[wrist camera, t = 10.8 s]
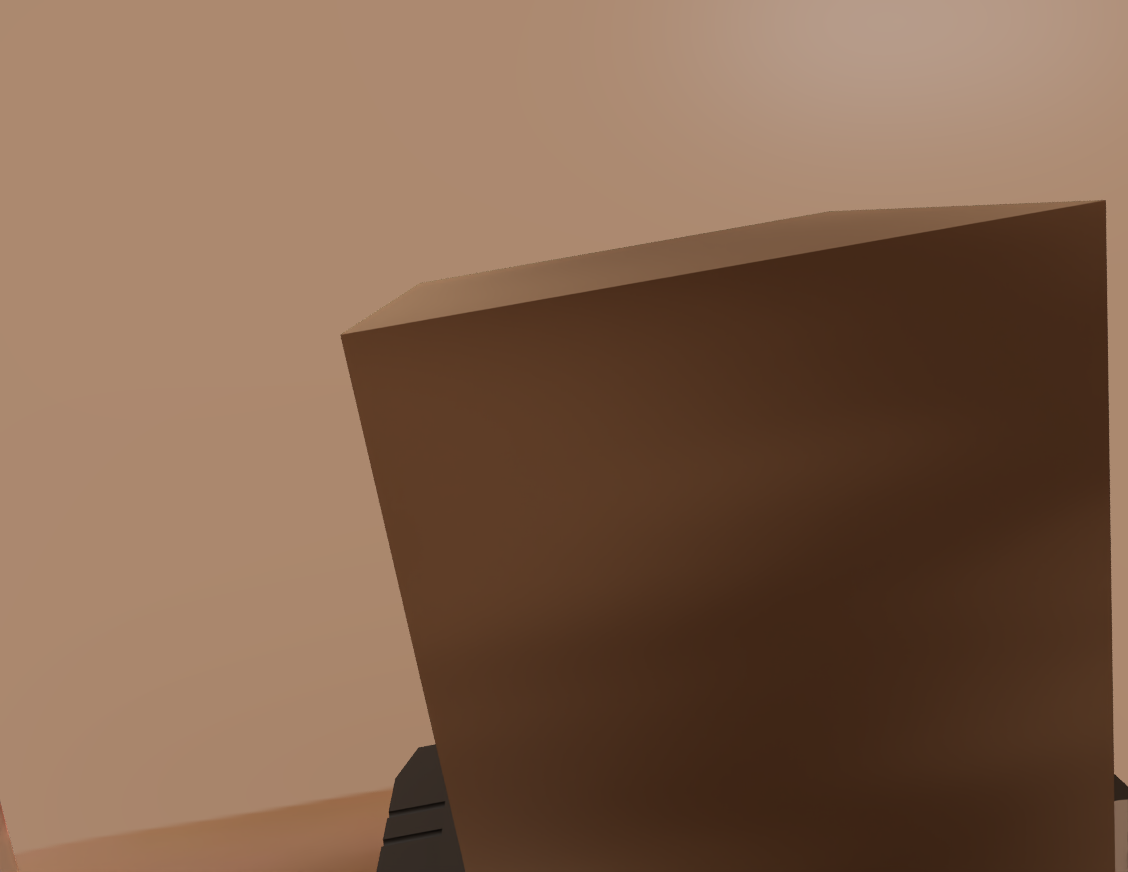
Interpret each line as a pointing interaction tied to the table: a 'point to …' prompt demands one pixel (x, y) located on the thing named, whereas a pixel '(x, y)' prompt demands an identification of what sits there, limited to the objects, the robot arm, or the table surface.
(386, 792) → the table surface
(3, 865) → the drinking glass
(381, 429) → the tall brown pillar
